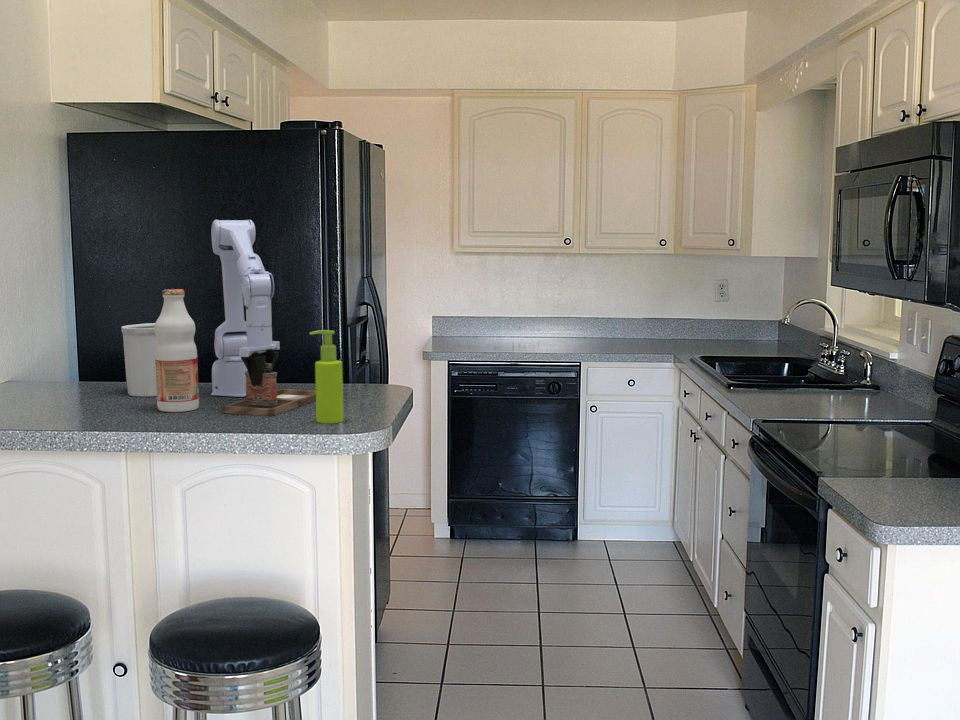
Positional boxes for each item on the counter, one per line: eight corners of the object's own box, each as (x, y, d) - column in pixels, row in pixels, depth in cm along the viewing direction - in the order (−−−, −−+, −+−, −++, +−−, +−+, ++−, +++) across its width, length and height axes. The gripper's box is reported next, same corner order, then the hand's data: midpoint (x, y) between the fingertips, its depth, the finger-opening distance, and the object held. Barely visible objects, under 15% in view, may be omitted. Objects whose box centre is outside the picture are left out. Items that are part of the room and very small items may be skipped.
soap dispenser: (312, 418, 219) (310, 329, 217) (344, 418, 220) (342, 328, 217) (310, 423, 214) (308, 332, 211) (342, 423, 214) (340, 331, 211)
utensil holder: (111, 395, 251) (108, 326, 248) (151, 386, 264) (148, 321, 262) (158, 399, 245) (155, 328, 243) (197, 389, 259) (194, 323, 256)
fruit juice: (149, 410, 230) (143, 290, 226) (182, 404, 238) (177, 287, 234) (174, 414, 225) (169, 291, 221) (207, 408, 232) (203, 289, 229)
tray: (222, 412, 226) (221, 406, 226) (280, 394, 251) (279, 388, 251) (271, 416, 222) (271, 409, 222) (325, 397, 247) (325, 391, 246)
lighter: (280, 403, 230) (279, 361, 229) (272, 405, 227) (272, 362, 226) (250, 401, 233) (249, 359, 232) (242, 403, 230) (241, 361, 229)
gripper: (257, 329, 220) (259, 389, 222) (290, 323, 233) (291, 380, 235) (230, 328, 222) (232, 388, 224) (264, 322, 236) (265, 378, 237)
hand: (261, 383), depth 230 cm, fingers closed on lighter, 3 cm apart
